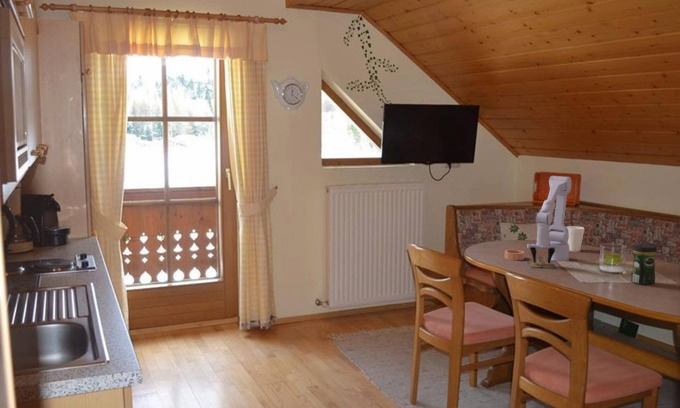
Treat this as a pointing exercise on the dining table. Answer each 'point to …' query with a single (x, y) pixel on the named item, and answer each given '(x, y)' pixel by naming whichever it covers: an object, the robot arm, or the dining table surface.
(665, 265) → the dining table surface
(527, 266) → the mat
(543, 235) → the robot arm
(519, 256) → the bowl
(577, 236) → the foam cup
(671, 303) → the dining table surface
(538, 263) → the square tan board
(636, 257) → the coffee jar
